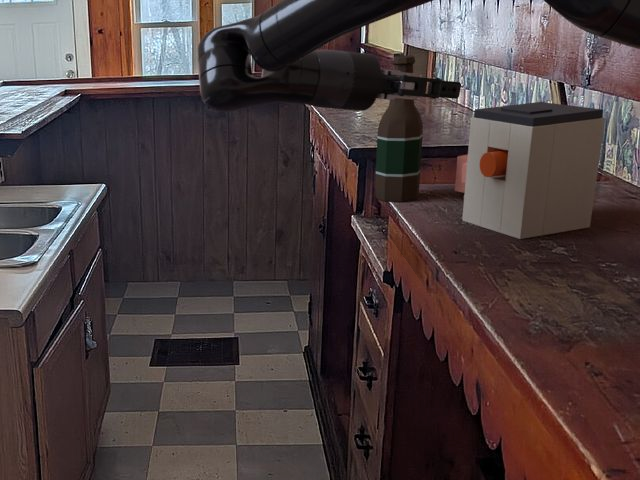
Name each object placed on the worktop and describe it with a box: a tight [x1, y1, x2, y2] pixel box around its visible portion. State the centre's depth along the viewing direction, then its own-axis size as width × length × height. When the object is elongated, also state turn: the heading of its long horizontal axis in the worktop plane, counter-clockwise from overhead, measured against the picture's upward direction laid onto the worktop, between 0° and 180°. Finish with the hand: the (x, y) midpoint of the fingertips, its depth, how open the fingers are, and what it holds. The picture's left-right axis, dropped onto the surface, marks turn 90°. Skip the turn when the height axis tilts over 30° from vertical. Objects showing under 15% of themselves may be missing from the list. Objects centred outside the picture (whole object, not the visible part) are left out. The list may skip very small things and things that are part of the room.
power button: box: [480, 150, 508, 177], centre depth 128 cm, size 4×4×4 cm
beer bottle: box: [374, 54, 424, 203], centre depth 149 cm, size 8×8×24 cm
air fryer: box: [461, 101, 606, 240], centre depth 130 cm, size 13×13×18 cm
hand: (441, 89), depth 122 cm, fingers open, 8 cm apart
